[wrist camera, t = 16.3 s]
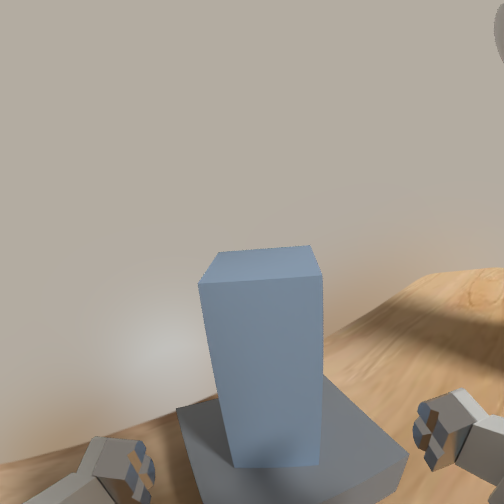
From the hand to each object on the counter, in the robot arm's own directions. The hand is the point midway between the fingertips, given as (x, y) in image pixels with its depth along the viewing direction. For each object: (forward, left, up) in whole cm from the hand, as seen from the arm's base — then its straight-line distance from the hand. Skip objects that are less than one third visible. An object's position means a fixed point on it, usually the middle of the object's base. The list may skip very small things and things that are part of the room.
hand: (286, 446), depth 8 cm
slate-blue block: (0, -8, -9) cm, 12 cm away
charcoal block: (0, -9, -14) cm, 16 cm away
